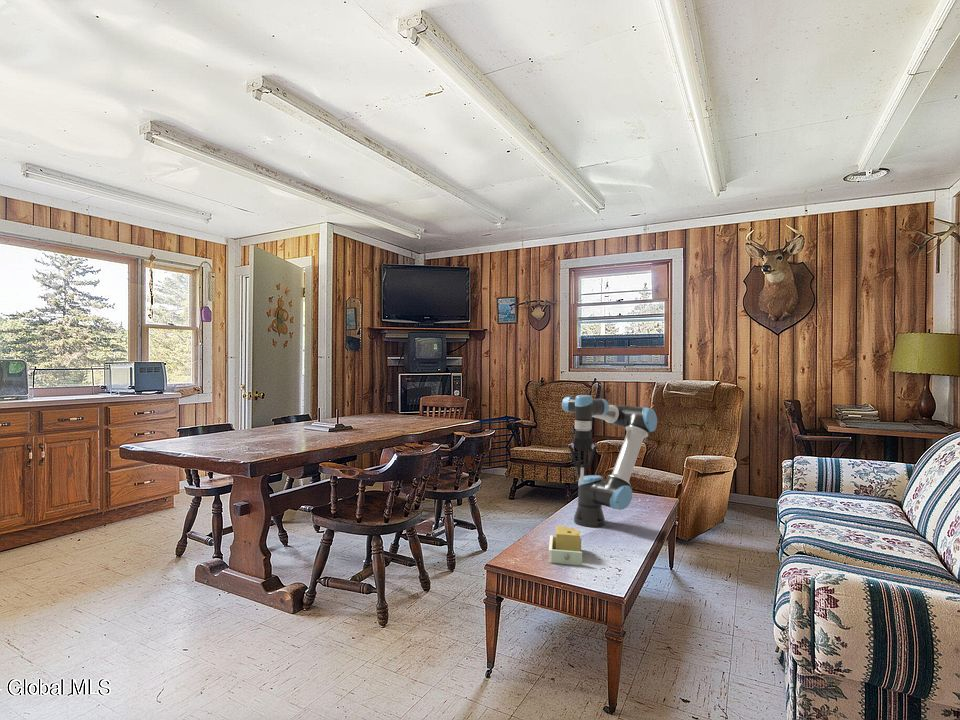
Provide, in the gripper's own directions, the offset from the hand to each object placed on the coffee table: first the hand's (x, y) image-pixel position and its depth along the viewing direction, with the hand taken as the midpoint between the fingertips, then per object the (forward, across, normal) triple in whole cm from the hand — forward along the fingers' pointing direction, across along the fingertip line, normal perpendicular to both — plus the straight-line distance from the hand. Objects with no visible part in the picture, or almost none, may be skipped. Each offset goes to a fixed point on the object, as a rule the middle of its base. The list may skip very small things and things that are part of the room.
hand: (581, 482), depth 229 cm
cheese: (+27, -6, -17) cm, 32 cm away
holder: (+26, -6, -19) cm, 33 cm away
